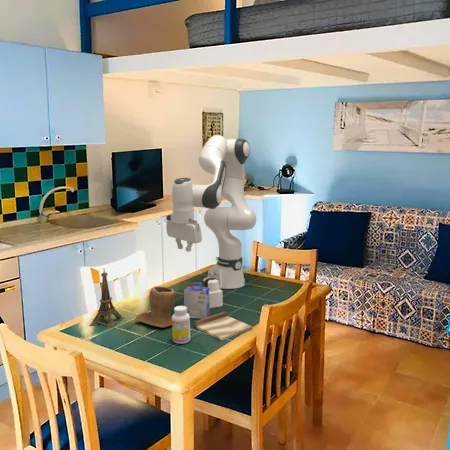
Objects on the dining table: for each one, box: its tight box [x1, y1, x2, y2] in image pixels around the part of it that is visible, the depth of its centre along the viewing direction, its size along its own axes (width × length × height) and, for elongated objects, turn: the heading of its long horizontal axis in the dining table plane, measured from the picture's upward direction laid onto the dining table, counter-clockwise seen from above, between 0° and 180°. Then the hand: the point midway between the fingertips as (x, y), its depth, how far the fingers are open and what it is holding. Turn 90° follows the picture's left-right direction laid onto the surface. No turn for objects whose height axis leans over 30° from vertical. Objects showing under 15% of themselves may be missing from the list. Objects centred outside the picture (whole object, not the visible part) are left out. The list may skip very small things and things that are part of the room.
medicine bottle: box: [204, 278, 224, 309], centre depth 221 cm, size 7×7×12 cm
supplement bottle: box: [171, 305, 191, 345], centre depth 185 cm, size 7×7×13 cm
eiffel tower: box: [88, 269, 125, 329], centre depth 202 cm, size 11×11×25 cm
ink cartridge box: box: [183, 281, 211, 320], centre depth 208 cm, size 10×6×14 cm, turn 78°
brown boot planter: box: [134, 285, 176, 329], centre depth 202 cm, size 15×12×15 cm
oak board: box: [193, 311, 253, 341], centre depth 197 cm, size 16×16×2 cm
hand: (184, 250), depth 210 cm, fingers open, 4 cm apart
